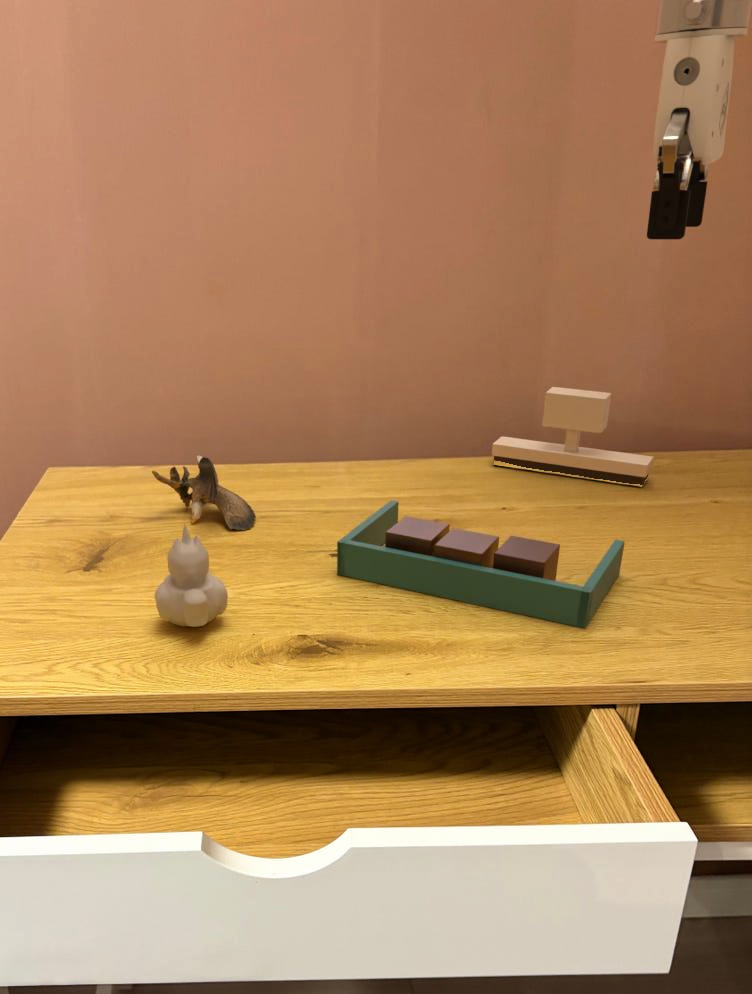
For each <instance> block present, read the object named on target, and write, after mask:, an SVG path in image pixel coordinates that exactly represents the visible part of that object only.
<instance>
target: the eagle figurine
mask: <svg viewBox="0 0 752 994" xmlns="http://www.w3.org/2000/svg"><path fill="white" fill-rule="evenodd" d="M196 462H197V467H198V469H199V471H198V475H196V476H194V477H190V475H191V473H190V472H189V470H188V468H187V467H186V466H185V465H183V466H182V469H183V473H182V474H183V475H182V477H180V474H179V472H178V470H177V468H176V466H173V467H171V468H170V470H169V478H167V477H165V476H163V475H161V474H159V472H157V471H155V470H152V471H151V474H152V475H153V476H154V478H155V479H156V480H157V482H160V483H161V484H164V485H167V486H169V487H170V488H171V489H173V490H174V492H176V493H177V494H178V496H179V499H180V500H181V501H182V504H184V506H185V507H186V508H189V507H190V503H191V521H190V524H191V525H194V524H195V523H196V521H197V520H199V519H200V518H201V517H202V513H203V509H204V507H205V505H206V504H212V505H214V506H216V507H217V509H218V510H219V511H220V512H221V514H222V515H223V519H224V521H225V524H226V525H227V526H228V528H229V530H230V529H231V530H232V529H234V530H236V531H240V530H241V531H247V530H252V526H254V525H255V522H256V519H257V516H256V514H255V511H254V509H253V508H252V506H251V505H250V504H248V502H247V501H246V500H245V499H243V497H241V496H240V495H239V494H236V493H235V492H233V491H231V490H229V489H228V488H226V487H224V486H221V485H220V484H219V478H218V473H217V470H216V468H215V466H214V463H213V462H212V460H211V458H209V457H205V456H202V455H199V454H198V455H196ZM190 488H191V489H192V491H191V492H190V493H189V489H190Z"/></svg>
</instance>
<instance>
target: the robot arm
mask: <svg viewBox="0 0 752 994" xmlns="http://www.w3.org/2000/svg"><path fill="white" fill-rule="evenodd" d="M751 12H752V0H658V6H657V13H656V24H655V32H654V35H655V36H654V42H653V43H654V44H655V43H656V44H662V43H663V44H666V45H665V52H664V59H663V64H662V67H661V68H662V69H661V71H662V72H661V78H660V86H659V92H658V100H657V108H656V117H655V125H654V134H653V135H654V136H653V148H652V160H653V162H654V163H655V164H656V166H657V168H656V173H655V177H654V179H653V186H652V191H651V195H650V206H649V211H648V212H649V213H648V221H647V230H646V238H647V239H648V240H682V239H683V238H684V237H685V235H686V228H697V227H699V226H701V225H702V223H703V217H704V209H705V203H706V195H707V189H708V183H709V181H707V178H708V172H709V170H708V169H709V165H710V164H712V163H715V162H717V161H718V160H719V159H720V158H721V157H722V156H723V155H724V152H725V151H724V150H725V141H726V133H727V122H728V114H729V106H730V97H731V89H732V80H733V72H734V71H733V70H734V59H735V58H734V57H735V38H739V37H740V38H741V37H746V36H748V31H749V25H750V19H751Z"/></svg>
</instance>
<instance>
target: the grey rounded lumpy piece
mask: <svg viewBox="0 0 752 994" xmlns="http://www.w3.org/2000/svg"><path fill="white" fill-rule="evenodd" d="M181 535H182V536H181V539H179V538H178V537H175V539H174V541H173V543H172V546H171V548H170V549H169V550H168V553H167V569H168V572H169V574H167V575H166V576H165V577H164V581H162V582H161V583H159V585H158V586H157V588H156V590H155V592H154V601H155V606H156V609H157V613H158V615H159V616H160V618H161V619H162V620H163V621H165V622H170V623H172V624H173V625H176V626H180V627H192V628H196V627H202V626H205V625H206V624H207V623H210V622H211V621H213V620H214V619H215V618H216V617H217V616H221V615H223V614H224V613H225V612H226V610H227V607H228V595H229V593H228V590H227V588H226V585H225V584H224V582H223V580H221V579H220V578H218V577H217V576H213V575H212V573H211V572H210V571H209V570H210V557H209V551H208V550H207V549H206V547H205V546H204V544H203V543H202V541H201V539H200V538H199V536H198V535H197V534H196V535H195V536H194V537H193V538H191V536H190V533H189V529H188V527H187V525H186V524H185V523H184V524H183V529H182V534H181Z"/></svg>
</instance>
